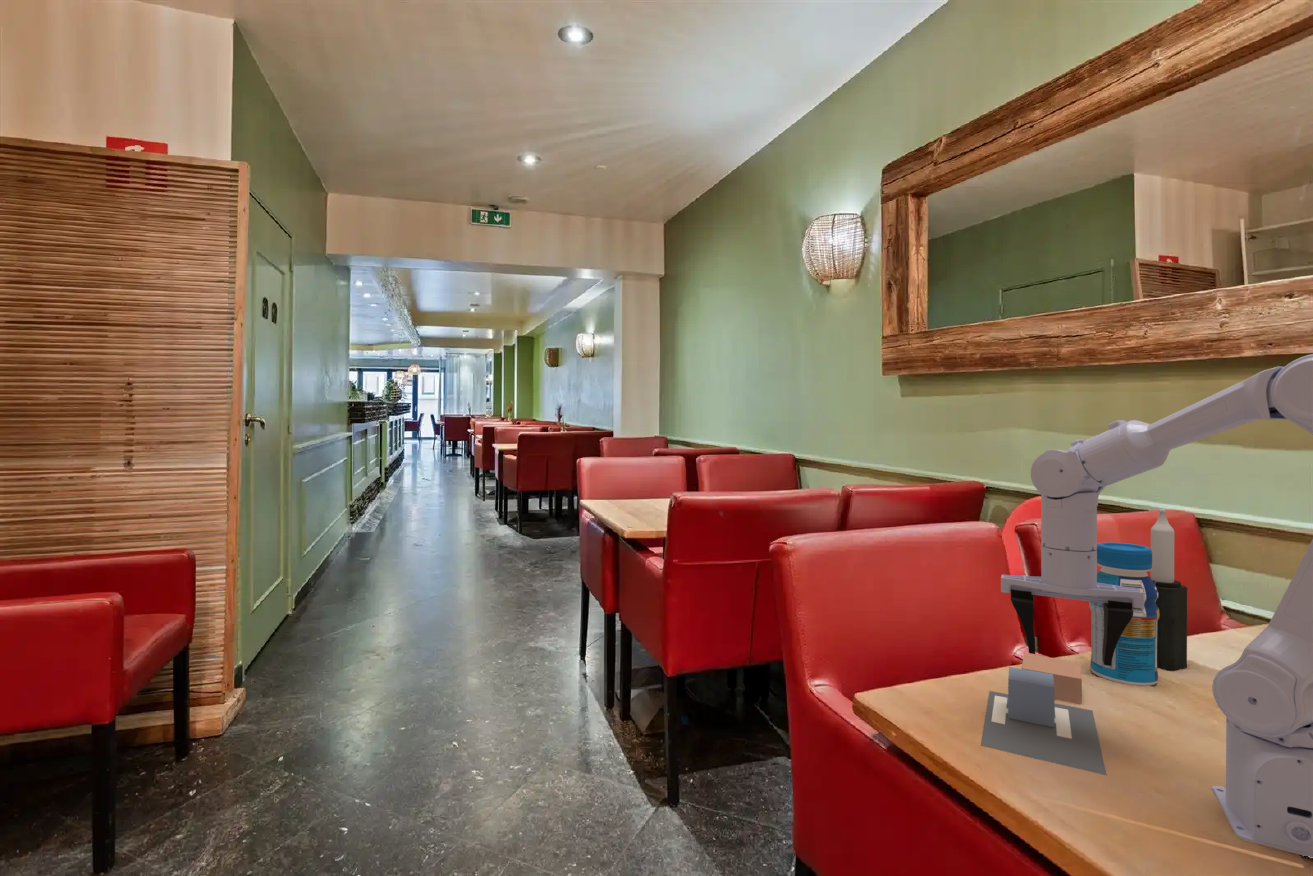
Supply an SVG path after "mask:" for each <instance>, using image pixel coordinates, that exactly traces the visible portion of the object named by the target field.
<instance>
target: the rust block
mask: <svg viewBox="0 0 1313 876" xmlns="http://www.w3.org/2000/svg"><path fill="white" fill-rule="evenodd" d="M1021 669H1025V670H1031V671H1036V672H1042V673H1048V674H1053V679H1054V687H1055V700H1059V701H1064V702H1069V703H1074V704H1078V705H1082V703H1083V702H1082V700H1083V699H1082V697H1083V696H1082V695H1083V693H1082V692H1083V690H1082V689H1083V684H1082V683H1083V681H1082V678H1083V677H1082V665H1081V662H1078V661H1071V660H1066V659H1060V658H1054V657H1050V656H1049V657H1048V656H1042V655H1036V654H1031V653H1024V654H1023V658H1022V665H1021Z"/></svg>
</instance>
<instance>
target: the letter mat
mask: <svg viewBox="0 0 1313 876" xmlns="http://www.w3.org/2000/svg"><path fill="white" fill-rule="evenodd" d="M987 698H988V699H987V703H986V704H987V705H986V709H985V715H984V722H983V729H982V735H981V741H980V746H981V747H983V748H989V749H993V750H997V751H1000V752H1001V751H1002V752H1006V753H1011V754H1014V755H1019V756H1021V757H1022V756H1023V757H1027V758H1032V759H1035V760H1040V761H1044V762H1049V763H1052V764H1056V765H1060V766H1066V767H1069V768H1074V769H1078V770H1082V771H1087V772H1091V773H1095V774H1099V775H1104V776H1107V775H1108V774H1107V769H1106V765H1105V760H1104V757H1103V752H1102V747H1101V743H1100V738H1099V734H1098V730H1097V725H1096V721H1095V716H1094V711H1093V710H1092V709H1087V708H1080V707H1076V706H1071V705H1065V704H1059V703H1055V717H1054V727H1049V726H1044V725H1040V724H1035V723H1030V722H1025V721H1020V720H1016V719H1011V718H1008V693H1003V692H998V691H994V690H989V692H988V697H987Z"/></svg>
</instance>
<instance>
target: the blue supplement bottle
mask: <svg viewBox="0 0 1313 876" xmlns="http://www.w3.org/2000/svg"><path fill="white" fill-rule="evenodd" d="M1097 566H1098V567H1101V568H1100V569H1099V570H1098V571H1097V583H1104V584H1110V585H1116V586H1123V587H1130V588H1138V589H1142V591H1143V592H1144V609H1142V608H1134V607H1132V610H1133V617H1132V619H1131V621H1130V622H1129V623H1128V625H1127V626H1126V628H1125V629H1124V631H1123V633H1122V635H1121V636H1120V638H1119V641H1118V643H1117V645H1116V648H1115V651H1114V654H1113V658H1112V665H1111V666H1107V665H1104V663H1103V657H1102V649H1103V638H1104V610H1103V603H1102V602H1093V601H1089V605H1088V606H1089V610H1090V611H1091V616H1090V619H1091V621H1090V623H1091V635H1090V636H1091V637H1090V638H1091V642H1090V643H1091V649H1090V651H1091V653H1090V654H1091V657H1090V667H1089V668H1090V670H1091V672H1092V673H1093V674H1095V675H1096V676H1097V677H1099V678H1101V679H1105V680H1108V681H1112V682H1115V683H1119V684H1124V685H1129V686H1136V687H1137V686H1138V687H1139V686H1141V687H1145V686H1146V687H1151V686H1154V685H1156V684H1157V683H1158V681H1159V672H1158V667H1157V621H1158V619H1159V616H1160V613H1159V608H1158V607H1157V605H1156V600H1157V598H1158V596H1159V595H1158V591H1157V588H1156V586H1155V584H1154V583H1153V581H1152V580H1151V578H1150V577H1151V576H1150V575H1148V572H1151V568H1152V550H1151V547H1149V546H1146V545H1141V544H1135V543H1127V542H1109V541H1107V542H1099V543H1097Z"/></svg>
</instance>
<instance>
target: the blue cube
mask: <svg viewBox="0 0 1313 876" xmlns="http://www.w3.org/2000/svg"><path fill="white" fill-rule="evenodd" d="M1007 679H1008V680H1007V685H1008V687H1007V688H1008V689H1007V694H1008V718H1011V719H1016V720H1020V721H1025V722H1030V723H1035V724H1040V725H1044V726H1049V727H1054V717H1055V701H1056V699H1055V687H1054V679H1053V674H1048V673H1042V672H1036V671H1031V670H1025V669H1022V668H1018V667H1012V666H1008V677H1007Z"/></svg>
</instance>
